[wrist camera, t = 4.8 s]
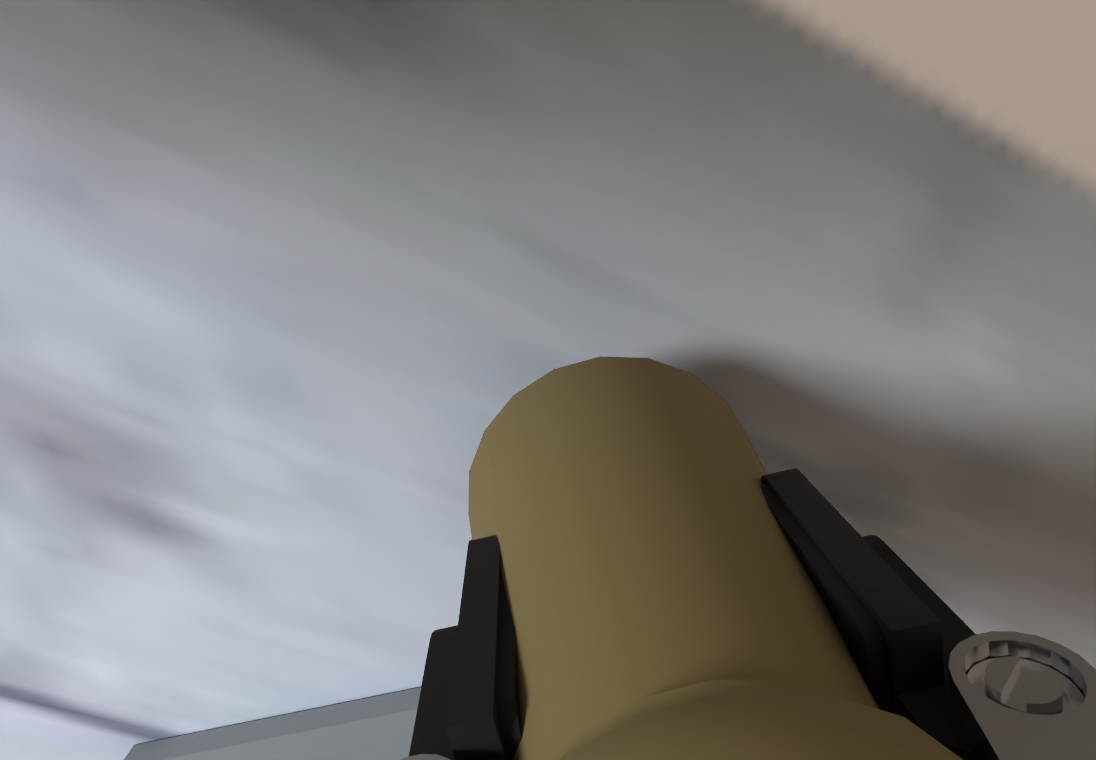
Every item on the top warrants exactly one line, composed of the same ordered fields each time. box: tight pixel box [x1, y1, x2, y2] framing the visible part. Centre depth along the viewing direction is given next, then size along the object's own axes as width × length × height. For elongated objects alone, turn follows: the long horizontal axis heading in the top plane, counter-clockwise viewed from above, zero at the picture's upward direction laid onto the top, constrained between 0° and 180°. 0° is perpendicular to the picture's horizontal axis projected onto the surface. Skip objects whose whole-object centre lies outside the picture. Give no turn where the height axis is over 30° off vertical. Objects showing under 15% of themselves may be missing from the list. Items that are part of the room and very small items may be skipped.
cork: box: [469, 357, 963, 760], centre depth 9 cm, size 6×6×11 cm
